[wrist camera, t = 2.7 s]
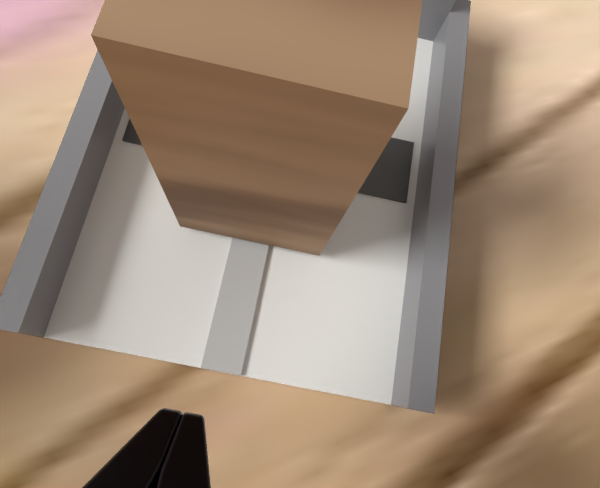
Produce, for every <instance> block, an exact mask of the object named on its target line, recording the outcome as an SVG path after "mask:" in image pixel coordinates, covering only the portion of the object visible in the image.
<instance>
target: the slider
mask: <svg viewBox="0 0 600 488" xmlns="http://www.w3.org/2000/svg"><path fill="white" fill-rule="evenodd" d="M422 1H423V0H105V2H104V4H103V7H102V9H101V12H100V14H99V17H98V19H97V22H96V24H95V27H94V29H93V32H92V34H91V36H92V38H93V40H94V42H95V45H96V47H97V49H98V51H99V53H100V55H101V58H102V60H103V62H104V64H105V66H106V68H107V70H108V73H109V75H110V77H111V79H112V81H113V83H114V85H115V88H116V90H117V92H118V94H119V96H120V98H121V101H122V103H123V105H124V107H125V109H126V111H127V113H128V116H129V118H130V120H131V122H132V124H133V126H134V129H135V131H136V133H137V135H138V137H139V139H140V141H141V144H142V146H143V148H144V150H145V152H146V154H147V156H148V159H149V161H150V163H151V165H152V167H153V169H154V172H155V174H156V176H157V178H158V180H159V182H160V184H161V187H162V189H163V191H164V193H165V195H166V197H167V199H168V202H169V204H170V206H171V208H172V210H173V212H174V215H175V217H176V219H177V221H178V223H179V225H180V227H185V228H190V229H195V230H199V231H204V232H209V233H213V234H218V235H223V236H228V237H232V238H237V239H242V240H247V241H251V242H256V243H261V244H266V245H270V246H275V247H280V248H285V249H289V250H294V251H299V252H304V253H308V254H313V255H318V256H320V254H321V252H322V251H323V249H324V247H325V246H326V244H327V243H328V241H329V239H330V238H331V236H332V234H333V233H334V231H335V229H336V228H337V226H338V224H339V223H340V221H341V219H342V218H343V216H344V214H345V213H346V211H347V209H348V208H349V206H350V204H351V203H352V201H353V200H354V198H355V196H356V195H357V193H358V191H359V190H360V188H361V186H362V185H363V183H364V181H365V180H366V178H367V176H368V175H369V173H370V171H371V170H372V168H373V166H374V165H375V163H376V162H377V160H378V158H379V157H380V155H381V153H382V152H383V150H384V148H385V147H386V145H387V143H388V142H389V140H390V138H391V137H392V135H393V133H394V132H395V130H396V128H397V127H398V125H399V123H400V122H401V120H402V119H403V117H404V115H405V114H406V112H407V110H408V109H409V101H410V93H411V85H412V78H413V70H414V62H415V55H416V47H417V39H418V31H419V24H420V16H421V8H422Z"/></svg>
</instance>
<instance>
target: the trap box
mask: <svg viewBox="0 0 600 488" xmlns="http://www.w3.org/2000/svg"><path fill="white" fill-rule="evenodd" d="M470 4H471V1H469V0H423V1H422V8H421V16H420V24H419V31H418V39H417V47H416V55H415V62H414V70H413V78H412V85H411V93H410V101H409V109H408V110H407V112H406V114H405V115H404V117H403V119H402V120H401V122H400V123H399V125H398V127H397V128H396V130H395V132H394V133H393V135H392V137H391V138H390V140H389V142H388V143H387V145H386V147H385V148H384V150H383V152H382V153H381V155H380V157H379V158H378V160H377V162H376V163H375V165H374V166H373V168H372V170H371V171H370V173H369V175H368V176H367V178H366V180H365V181H364V183H363V185H362V186H361V188H360V190H359V191H358V193H357V195H356V196H355V198H354V200H353V201H352V203H351V204H350V206H349V208H348V209H347V211H346V213H345V214H344V216H343V218H342V219H341V221H340V223H339V224H338V226H337V228H336V229H335V231H334V233H333V234H332V236H331V238H330V239H329V241H328V243H327V244H326V246H325V247H324V249H323V251H322V252H321V254H320V256H318V255H313V254H308V253H304V252H299V251H294V250H289V249H285V248H280V247H275V246H270V245H266V244H261V243H256V242H251V241H247V240H242V239H237V238H232V237H228V236H223V235H218V234H213V233H209V232H204V231H199V230H195V229H190V228H185V227H180V225H179V223H178V221H177V219H176V217H175V215H174V212H173V210H172V208H171V206H170V204H169V202H168V199H167V197H166V195H165V193H164V191H163V189H162V187H161V184H160V182H159V180H158V178H157V176H156V174H155V172H154V169H153V167H152V165H151V163H150V161H149V159H148V156H147V154H146V152H145V150H144V148H143V146H142V144H141V141H140V139H139V137H138V135H137V133H136V131H135V129H134V126H133V124H132V122H131V120H130V118H129V116H128V113H127V111H126V109H125V107H124V105H123V103H122V101H121V98H120V96H119V94H118V92H117V90H116V88H115V85H114V83H113V81H112V79H111V77H110V75H109V73H108V70H107V68H106V66H105V64H104V62H103V60H102V58H101V55H100V53H99V51H97V53H96V56H95V58H94V61H93V63H92V66H91V68H90V71H89V74H88V76H87V79H86V81H85V84H84V86H83V89H82V91H81V94H80V96H79V99H78V102H77V104H76V107H75V109H74V112H73V114H72V117H71V119H70V122H69V124H68V127H67V130H66V132H65V135H64V137H63V140H62V142H61V145H60V147H59V150H58V152H57V155H56V158H55V160H54V163H53V165H52V168H51V170H50V173H49V175H48V178H47V180H46V183H45V186H44V188H43V191H42V193H41V196H40V198H39V201H38V203H37V206H36V208H35V211H34V214H33V216H32V219H31V221H30V224H29V226H28V229H27V231H26V234H25V236H24V239H23V242H22V244H21V247H20V249H19V252H18V254H17V257H16V259H15V262H14V264H13V267H12V269H11V272H10V275H9V277H8V280H7V282H6V285H5V287H4V290H3V292H2V295H1V297H0V330H5V331H10V332H15V333H21V334H27V335H32V336H38V337H44V338H49V339H54V340H59V341H64V342H69V343H75V344H80V345H85V346H90V347H95V348H100V349H105V350H111V351H116V352H121V353H126V354H131V355H136V356H142V357H147V358H152V359H157V360H162V361H167V362H172V363H178V364H183V365H188V366H193V367H198V368H203V369H208V370H214V371H219V372H224V373H229V374H234V375H239V376H245V377H250V378H255V379H260V380H265V381H270V382H276V383H281V384H286V385H291V386H296V387H301V388H306V389H312V390H317V391H322V392H327V393H332V394H337V395H343V396H348V397H353V398H358V399H363V400H368V401H373V402H379V403H384V404H389V405H394V406H398V407H403V408H407V409H412V410H418V411H423V412H428V413H433V414H434V412H435V401H436V390H437V378H438V367H439V356H440V344H441V333H442V322H443V310H444V299H445V288H446V276H447V265H448V253H449V242H450V231H451V219H452V208H453V197H454V185H455V174H456V163H457V151H458V140H459V129H460V117H461V106H462V94H463V83H464V72H465V60H466V49H467V38H468V26H469V15H470Z"/></svg>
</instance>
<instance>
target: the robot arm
mask: <svg viewBox="0 0 600 488" xmlns="http://www.w3.org/2000/svg"><path fill="white" fill-rule="evenodd" d="M83 488H211V486H210V475H209V465H208V454H207V444H206V433H205V422H204V417H203V416H202V415H198V414H193V413H184V414H183V415H182V412H180V411H177V410H172V409H166V408H163V409H161V410H160V411H158V412H157V413H156V414H155V415H154V416H153V417H152V418H151V419H150V420H149V421H148V422H147V423H146V424H145V425H144V426H143V427H142V428H141V429H140V430H139V431H138V432H137V433H136V434H135V435H134V436H133V437H132V438H131V439H130V440H129V441H128V442H127V443H126V444H125V445H124V446H123V447H122V448H121V449H120V450H119V451H118V452H117V453H116V454H115V455H114V456H113V457H112V458H111V459H110V460H109V461H108V462H107V463H106V464H105V465H104V466H103V467H102V468H101V469H100V470H99V471H98V472H97V473H96V474H95V475H94V476H93V477H92V478H91V479H90V481H89V482H88V483H87V484H86V485H85V486H84V487H83Z"/></svg>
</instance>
